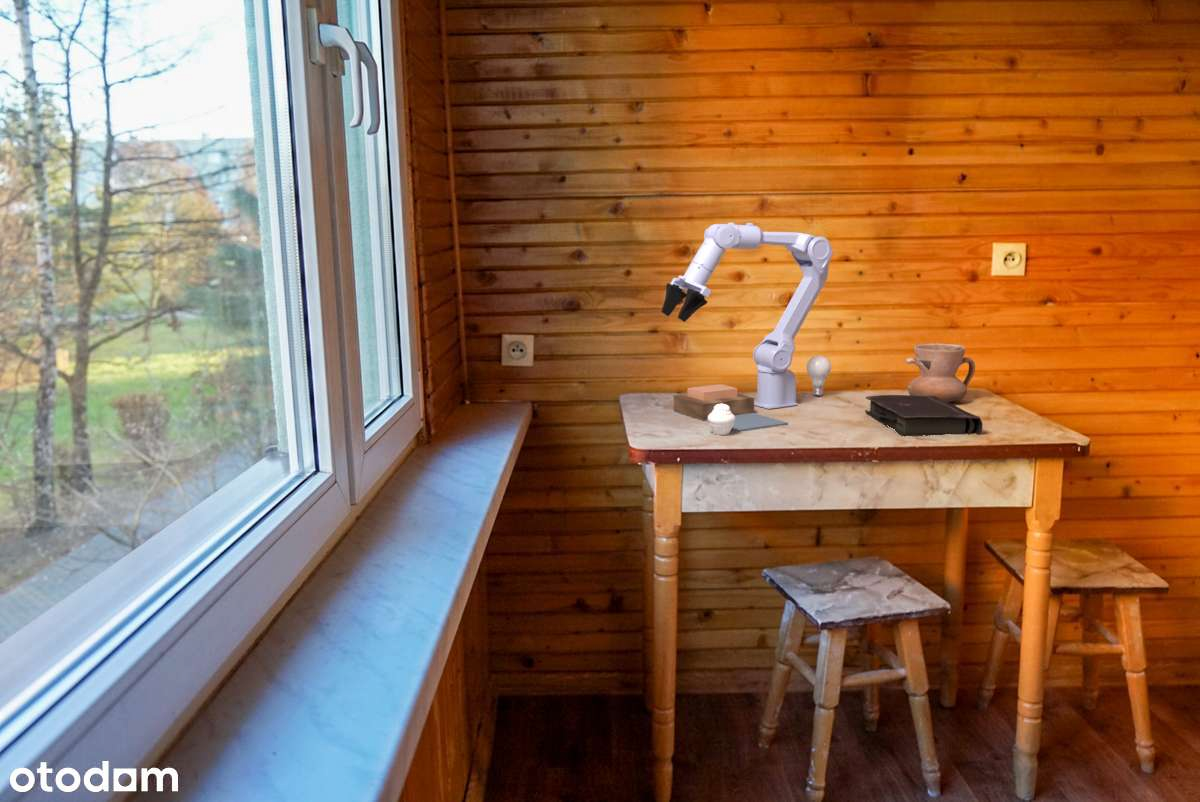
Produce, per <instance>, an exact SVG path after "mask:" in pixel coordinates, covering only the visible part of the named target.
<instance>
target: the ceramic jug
mask: <svg viewBox="0 0 1200 802" xmlns="http://www.w3.org/2000/svg"><path fill="white" fill-rule="evenodd" d="M913 348H914V350H913V352H914V356H915V357H908V358H906V359H905V364H906V365H909V364H914V365H915V366H917V368H918V369H919V371H920V375H918V376H916V378H913V379H912V380H910V381H909V383H908V384H907V388H906V389H907V391H908V395H912V396H936V397H938V398H940V399H941V400H943V401H945V402H947V403H954V402H957V401H960V400H962V399H963V398H964V397H966V395H967V394H968V385H969V383H970V382H971V380H972V379H973V377H974V375H975V370H976V363H975V361H974V359H972V358H971V357H965V353H966V347H965V346H964V345H958V344H953V343H952V344H949V343H923V344H917V345H916V344H915V345H914V347H913ZM966 363H967V364H968V371H967V375H966V377H965V379H964V380H963V381H962V380H960V379H959V378H958V377H957V376H956V373H957V371H958V369H959V368H960V366H962V365H964V364H966Z"/></svg>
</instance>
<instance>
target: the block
mask: <svg viewBox="0 0 1200 802" xmlns="http://www.w3.org/2000/svg"><path fill="white" fill-rule="evenodd" d="M738 390H739V388H738V387H733V386H730V385H729V386H728V385H726V384H722V383H721V384H711V385H702V386H695V387H687V394H688V396H689V397H693V398H696V399H700V400H703V401H705V400H713V399H721V398H729V397H737V393H738Z"/></svg>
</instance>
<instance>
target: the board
mask: <svg viewBox="0 0 1200 802" xmlns="http://www.w3.org/2000/svg"><path fill="white" fill-rule="evenodd" d="M754 401H755V397H754V396H753V397H752V396H749V395H746V394H742V393H738V392H737V397H729V398H721V399H713V400H705V401H703V400H700V399H696V398H693V397H689V396H688V393H683V394H674V395H673V412H675V413H678V414H680V415H685V416H687V417H691V418H694V419H697V420H700V421H702V422H704V421H706V419H708V415H709V414H710V413H712V411H713V410H714V406H715V405H717V404H721V403H722V404H726V405H728V406H729V407H730V411H731V412H732V414H733V415H741V414H749V413H755V405H754Z"/></svg>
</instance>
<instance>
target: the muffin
mask: <svg viewBox="0 0 1200 802" xmlns="http://www.w3.org/2000/svg"><path fill="white" fill-rule="evenodd" d="M708 421H709V422H708ZM708 421H707V422H708V424H709V427H710V428H711V430H712V432H713V434H714V435H716V434H717V435H716V436H728V435H729V433H730V432H731V430H732V427H733V425H734V422H735V416H734V415H733V414H732V412H731V411H730V407H729V406H728V405H726V404H722V403H721V404H717V405H715V406H714V410H713V411H712V413H710V414H709V415H708ZM727 434H728V435H727Z"/></svg>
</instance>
